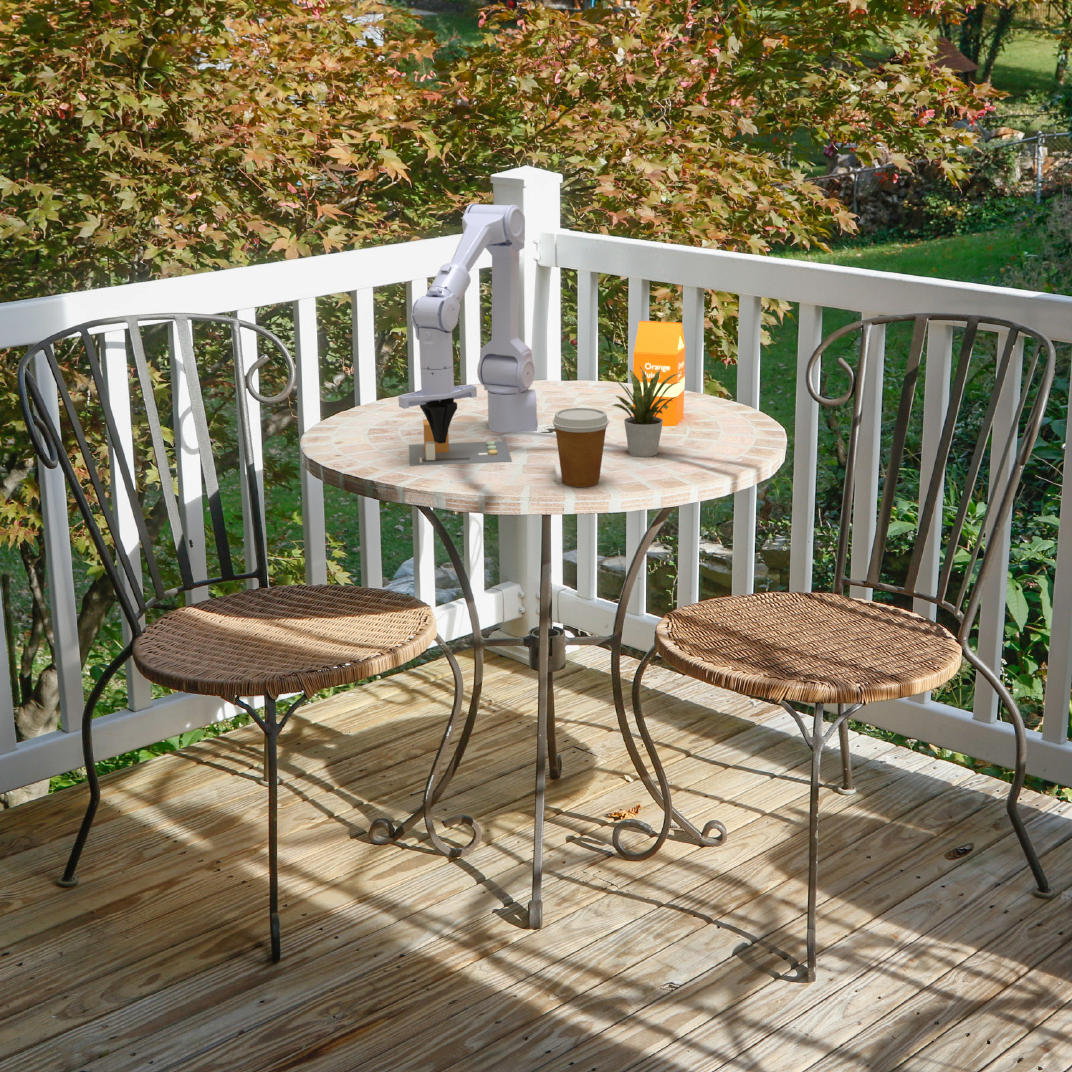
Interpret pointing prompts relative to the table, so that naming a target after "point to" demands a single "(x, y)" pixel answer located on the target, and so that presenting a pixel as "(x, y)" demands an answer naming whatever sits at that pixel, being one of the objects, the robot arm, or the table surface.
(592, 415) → the disposable coffee cup
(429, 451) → the switch
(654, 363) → the orange juice
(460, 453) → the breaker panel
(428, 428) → the cap
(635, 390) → the house plant
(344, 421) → the table surface
